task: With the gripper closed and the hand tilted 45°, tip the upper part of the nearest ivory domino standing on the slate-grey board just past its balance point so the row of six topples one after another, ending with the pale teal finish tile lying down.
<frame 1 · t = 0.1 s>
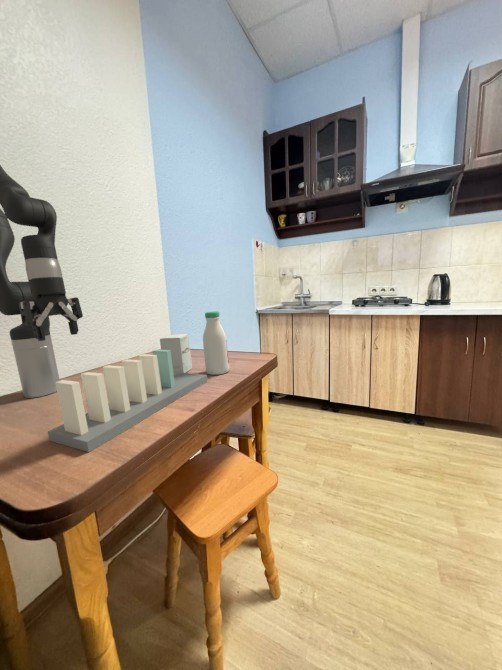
hand: (58, 337, 76), 17 cm above the table, tool pointing down, fingers open, 8 cm apart
supplement box: (178, 372, 96), on the table
domino 3: (120, 409, 63), point 2 cm above the table, touching board
domino 2: (100, 419, 58), point 2 cm above the table, touching board
milk bottle: (217, 372, 92), on the table
domino 5: (152, 392, 72), point 2 cm above the table, touching board
domino 1: (76, 431, 54), point 2 cm above the table, touching board
board: (144, 404, 69), on the table
domino 6: (166, 386, 76), point 2 cm above the table, touching board
domino 4: (137, 400, 67), point 2 cm above the table, touching board
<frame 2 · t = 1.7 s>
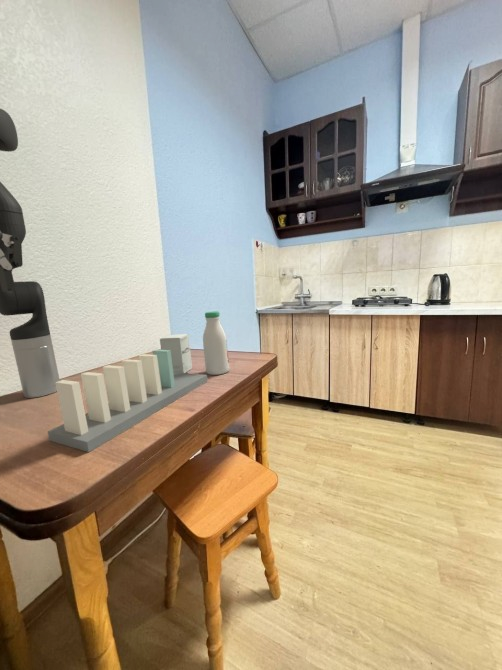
nothing on the table moved.
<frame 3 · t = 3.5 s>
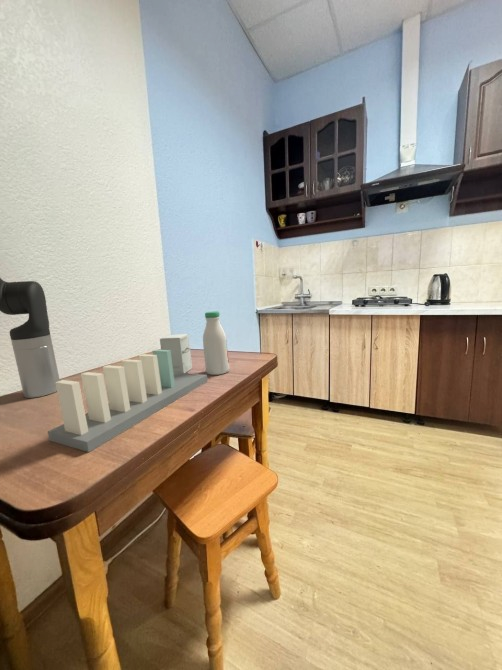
nothing on the table moved.
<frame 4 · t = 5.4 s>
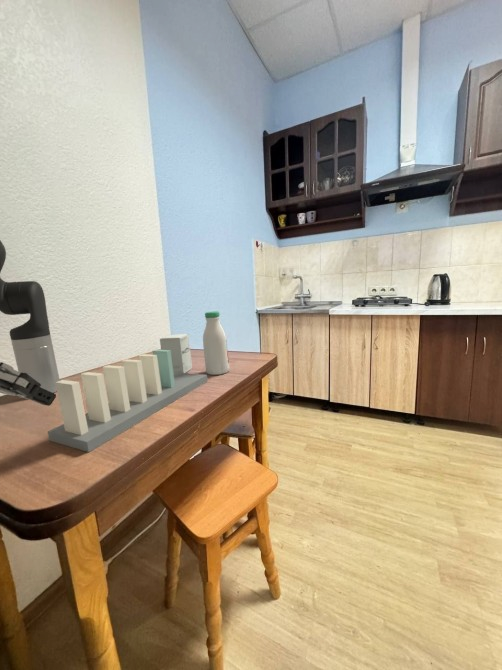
hand: (50, 400, 50), 10 cm above the table, tool tilted 45°, fingers closed
nothing on the table moved.
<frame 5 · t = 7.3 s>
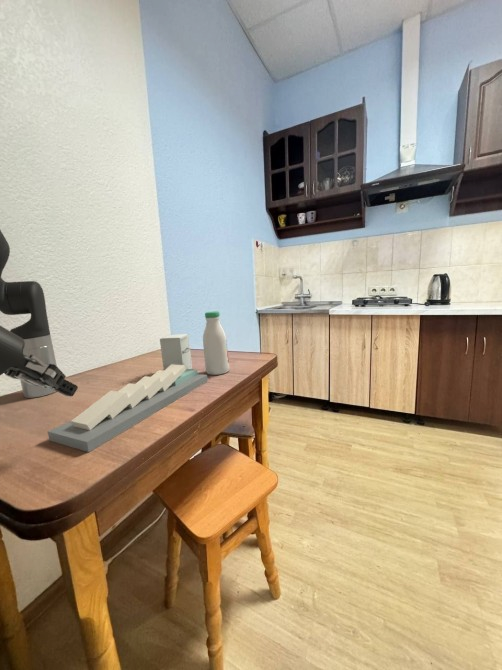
hand: (72, 391, 53), 10 cm above the table, tool tilted 45°, fingers closed
domino 3: (123, 404, 64), point 3 cm above the table, tilted 74°, touching board, domino 2, domino 4
domino 2: (103, 414, 59), point 3 cm above the table, tilted 74°, touching board, domino 1, domino 3
domino 5: (156, 388, 73), point 3 cm above the table, tilted 73°, touching domino 4, domino 6
domino 1: (80, 425, 55), point 3 cm above the table, tilted 74°, touching domino 2
domino 6: (168, 382, 77), point 3 cm above the table, tilted 90°, touching board, domino 5
domino 4: (140, 396, 68), point 3 cm above the table, tilted 73°, touching board, domino 3, domino 5
everything else where it was.
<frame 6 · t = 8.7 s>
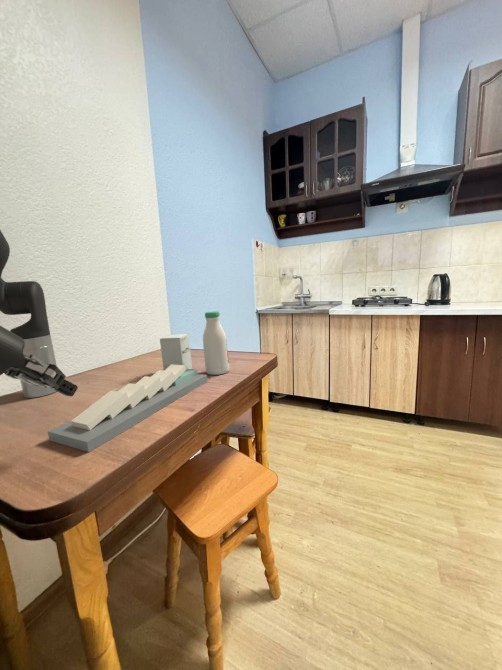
hand: (72, 391, 53), 10 cm above the table, tool tilted 45°, fingers closed
nothing on the table moved.
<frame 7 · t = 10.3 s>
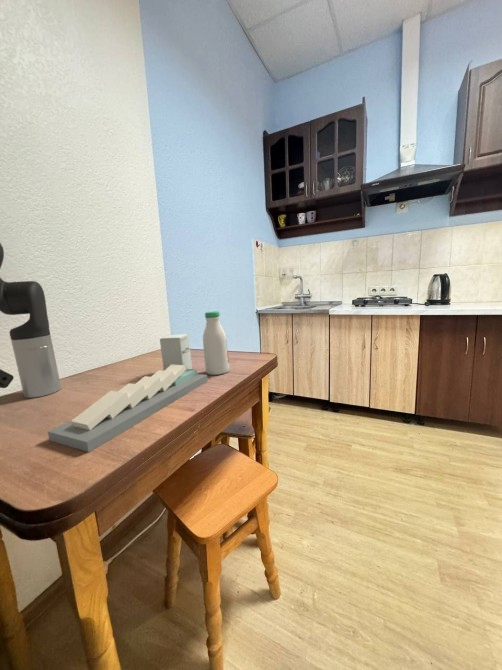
hand: (7, 382, 44), 15 cm above the table, tool tilted 40°, fingers closed
nothing on the table moved.
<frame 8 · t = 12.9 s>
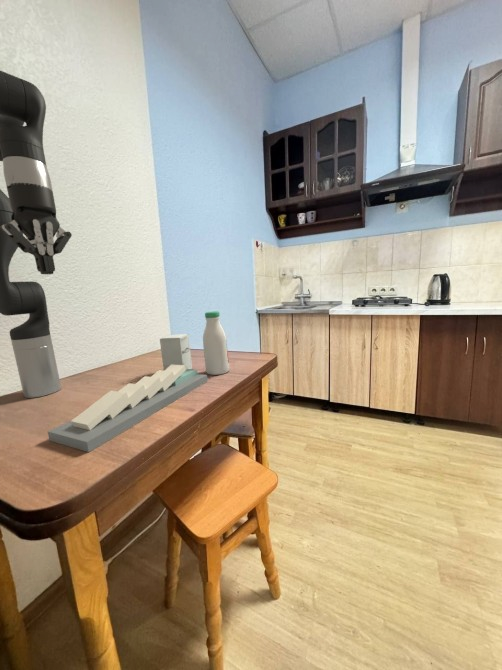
hand: (47, 274, 60), 33 cm above the table, tool pointing down, fingers closed
nothing on the table moved.
at the end: domino 6 tilted 90°; domino 3 tilted 74°; the gripper is holding nothing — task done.
